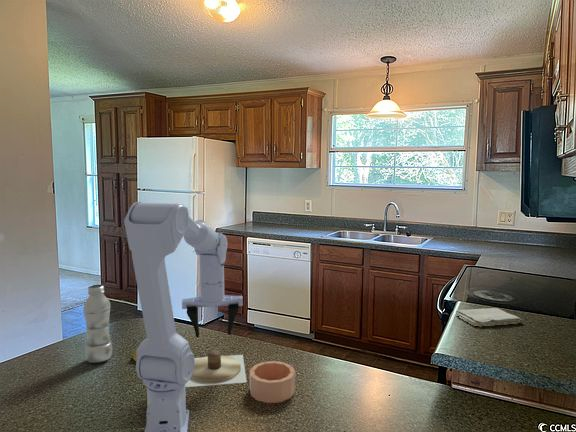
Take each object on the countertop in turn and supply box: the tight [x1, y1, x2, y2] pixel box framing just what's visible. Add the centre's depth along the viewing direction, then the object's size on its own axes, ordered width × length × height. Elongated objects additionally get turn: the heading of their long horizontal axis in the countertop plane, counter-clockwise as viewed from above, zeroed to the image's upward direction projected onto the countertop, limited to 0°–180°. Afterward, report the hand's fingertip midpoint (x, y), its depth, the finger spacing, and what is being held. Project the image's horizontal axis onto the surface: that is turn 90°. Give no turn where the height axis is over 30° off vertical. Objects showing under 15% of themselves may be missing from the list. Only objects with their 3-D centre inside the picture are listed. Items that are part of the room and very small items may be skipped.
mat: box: [185, 354, 247, 388], centre depth 105 cm, size 15×15×1 cm
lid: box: [191, 350, 241, 383], centre depth 105 cm, size 13×13×4 cm
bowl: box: [249, 360, 296, 404], centre depth 95 cm, size 10×10×5 cm
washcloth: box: [456, 307, 523, 323], centre depth 143 cm, size 12×18×3 cm, turn 103°
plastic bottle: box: [83, 283, 113, 364], centre depth 110 cm, size 6×7×20 cm
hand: (213, 334), depth 104 cm, fingers open, 7 cm apart
